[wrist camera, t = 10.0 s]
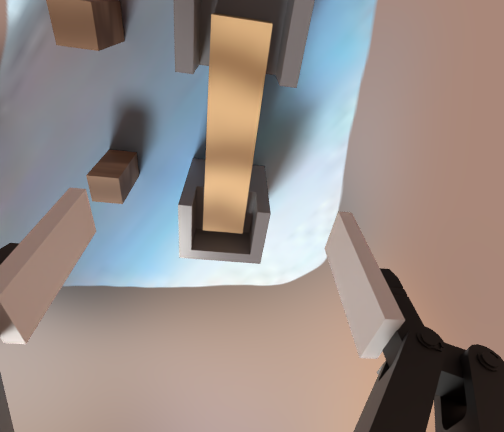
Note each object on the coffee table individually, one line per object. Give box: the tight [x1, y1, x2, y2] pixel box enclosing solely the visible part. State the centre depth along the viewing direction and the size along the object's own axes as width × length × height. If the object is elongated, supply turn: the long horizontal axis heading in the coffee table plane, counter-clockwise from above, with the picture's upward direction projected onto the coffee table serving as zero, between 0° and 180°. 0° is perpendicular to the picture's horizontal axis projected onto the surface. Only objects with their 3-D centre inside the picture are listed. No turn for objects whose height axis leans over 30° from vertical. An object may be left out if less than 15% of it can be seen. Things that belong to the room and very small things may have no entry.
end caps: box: [174, 0, 315, 264], centre depth 27 cm, size 24×8×10 cm, turn 173°
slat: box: [203, 13, 273, 234], centre depth 25 cm, size 18×4×2 cm, turn 173°
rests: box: [46, 0, 139, 204], centre depth 28 cm, size 17×3×6 cm, turn 173°
